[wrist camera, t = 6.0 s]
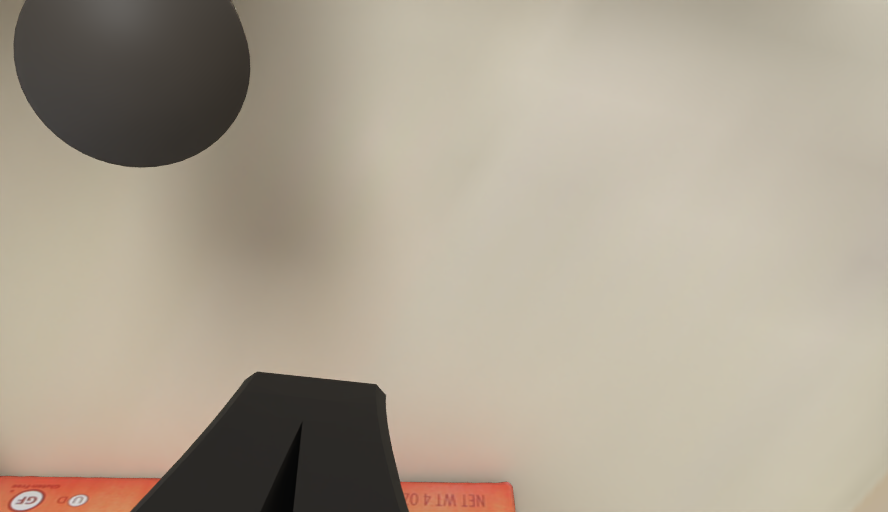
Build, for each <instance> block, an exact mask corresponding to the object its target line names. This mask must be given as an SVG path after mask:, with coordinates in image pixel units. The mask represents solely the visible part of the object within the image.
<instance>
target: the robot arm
mask: <svg viewBox="0 0 888 512" xmlns="http://www.w3.org/2000/svg"><path fill="white" fill-rule="evenodd" d="M130 512H409V510H408V507H407V504H406V500H405V497H404V493H403V490H402V486H401V483H400V479H399V476H398V471H397V467H396V463H395V459H394V455H393V451H392V446H391V441H390V436H389V430H388V424H387V415H386V395H385V394H384V392H383V391H382V390H381V389H380V388H379V387H378V386H377V385H376V384H368V383H359V382H349V381H340V380H331V379H321V378H312V377H302V376H293V375H283V374H274V373H265V372H256V373H254V374H253V375H251V376H250V377H249V378H247V379H246V380H245V381H244V382H243V383H242V385H241V386H240V387H239V389H238V390H237V391H236V393H235V394H234V395H233V397H232V398H231V399H230V400H229V402H228V403H227V404H226V405H225V407H224V408H223V409H222V410H221V412H220V413H219V414H218V415H217V416H216V418H215V419H214V420H213V421H212V422H211V424H210V425H209V426H208V427H207V428H206V429H205V431H204V432H203V433H202V434H201V435H200V436H199V437H198V439H197V440H196V441H195V442H194V443H193V444H192V445H191V447H190V448H189V449H188V450H187V451H186V452H185V453H184V455H183V456H182V457H181V458H180V459H179V460H178V461H177V462H176V463H175V464H174V465H173V466H172V468H171V469H170V470H169V471H168V472H167V473H166V474H165V475H164V476H163V477H162V478H161V479H160V480H159V481H158V482H157V483H156V484H155V486H154V487H153V488H152V489H151V490H150V491H149V492H148V493H147V494H146V495H145V496H144V497H143V498H142V499H141V500H140V501H139V503H138V504H137V505H136V506H135V507H134V508H133V509H132V510H131V511H130Z"/></svg>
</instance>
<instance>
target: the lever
mask: <svg viewBox="0 0 888 512" xmlns="http://www.w3.org/2000/svg"><path fill="white" fill-rule="evenodd" d="M14 61H15V66H16V72H17V76H18V79H19V82H20V85H21V88H22V90H23V92H24V94H25V96H26V98H27V100H28V102H29V104H30V105H31V107H32V108H33V110H34V111H35V113H36V115H37V116H38V117H39V118H40V119H41V120H42V122H43V123H44V124H45V125H46V126H47V127H48V128H49V129H50V130H51V131H52V132H53V133H54V134H55V135H56V136H57V137H59V138H60V139H61V140H63V141H64V142H66V143H67V144H68V145H70V146H71V147H73V148H75V149H76V150H78V151H80V152H82V153H84V154H86V155H88V156H90V157H93V158H95V159H98V160H101V161H104V162H107V163H111V164H116V165H121V166H127V167H157V166H163V165H169V164H173V163H176V162H180V161H183V160H185V159H188V158H190V157H192V156H195V155H196V154H198V153H200V152H202V151H203V150H205V149H207V148H208V147H209V146H211V145H212V144H213V143H214V142H216V141H217V140H218V139H219V138H220V137H221V136H222V135H223V134H224V133H225V132H226V131H227V130H228V128H229V127H230V126H231V124H232V123H233V122H234V120H235V119H236V117H237V115H238V113H239V112H240V110H241V108H242V105H243V102H244V100H245V97H246V94H247V89H248V85H249V77H250V55H249V50H248V44H247V40H246V37H245V34H244V31H243V28H242V25H241V22H240V19H239V17H238V14H237V12H236V10H235V8H234V5H233V3H232V1H231V0H26V1H25V3H24V5H23V8H22V10H21V12H20V14H19V18H18V21H17V25H16V28H15V36H14Z"/></svg>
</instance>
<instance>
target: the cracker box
mask: <svg viewBox="0 0 888 512" xmlns="http://www.w3.org/2000/svg"><path fill="white" fill-rule="evenodd" d="M159 480H160V479H157V478H83V477H34V476H27V477H18V476H0V512H130V511H131V510H132V509H133V508H134V507H135V506H136V505H137V504H138V503H139V501H140V500H141V499H142V498H143V497H144V496H145V495H146V494H147V493H148V492H149V491H150V490H151V489H152V488H153V487H154V486H155V484H156V483H157V482H158V481H159ZM400 483H401V486H402V490H403V493H404V497H405V500H406V504H407V507H408V510H409V512H515V503H514V495H513V487H512V485H511V484H510V483H508V482H501V483H441V482H400Z"/></svg>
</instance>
